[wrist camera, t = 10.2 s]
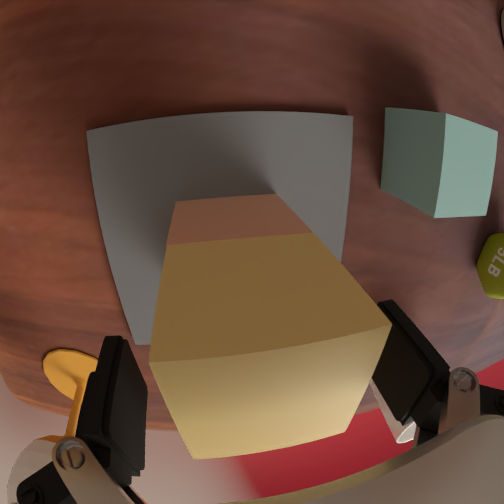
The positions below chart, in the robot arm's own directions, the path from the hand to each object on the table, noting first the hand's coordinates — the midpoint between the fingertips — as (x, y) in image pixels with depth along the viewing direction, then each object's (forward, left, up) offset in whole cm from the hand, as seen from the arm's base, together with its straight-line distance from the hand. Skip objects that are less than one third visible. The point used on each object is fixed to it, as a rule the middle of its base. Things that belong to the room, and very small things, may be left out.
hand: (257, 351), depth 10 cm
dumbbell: (+6, +35, -10) cm, 37 cm away
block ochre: (0, 0, -3) cm, 3 cm away
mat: (0, 0, -10) cm, 10 cm away
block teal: (-6, +14, -10) cm, 18 cm away
